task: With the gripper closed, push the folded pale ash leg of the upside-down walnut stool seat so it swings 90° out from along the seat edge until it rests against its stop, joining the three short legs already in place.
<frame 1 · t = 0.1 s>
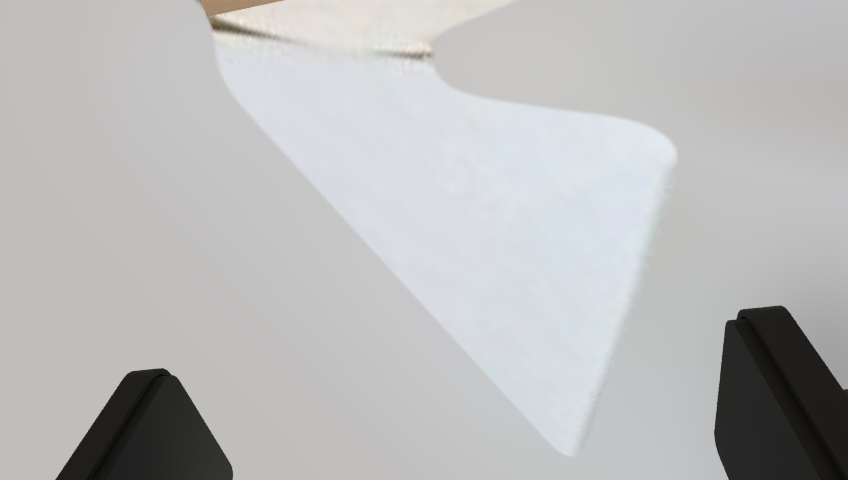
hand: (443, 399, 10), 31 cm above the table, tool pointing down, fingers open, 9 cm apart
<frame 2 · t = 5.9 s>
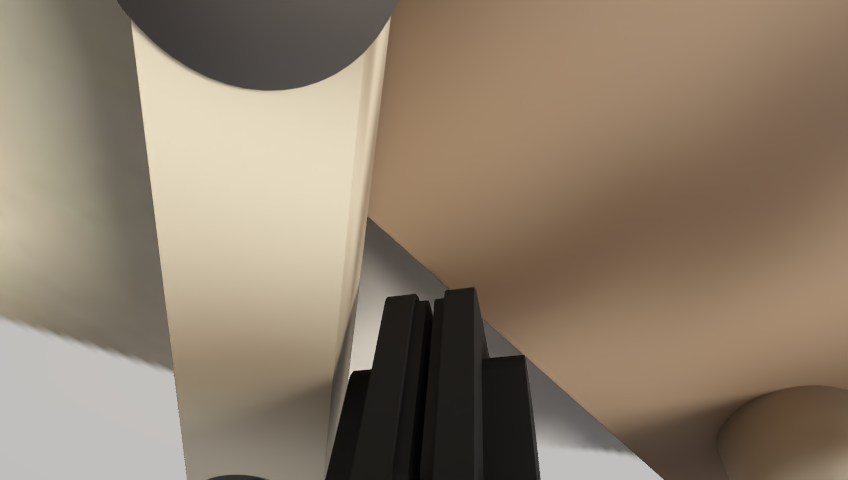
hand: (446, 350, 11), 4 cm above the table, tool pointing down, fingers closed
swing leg: (275, 263, 9), point 5 cm above the table, hinge at -52.8°, touching gripper
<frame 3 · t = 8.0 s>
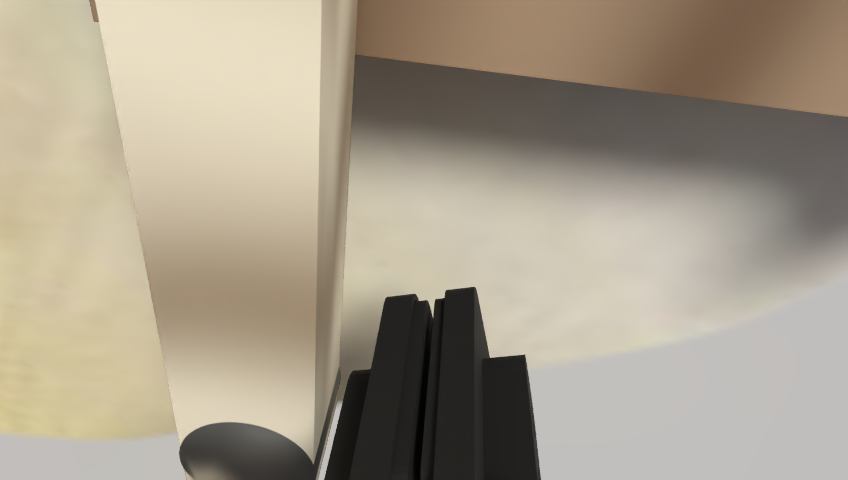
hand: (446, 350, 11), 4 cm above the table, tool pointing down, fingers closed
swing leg: (254, 197, 9), point 5 cm above the table, hinge at -90.7°
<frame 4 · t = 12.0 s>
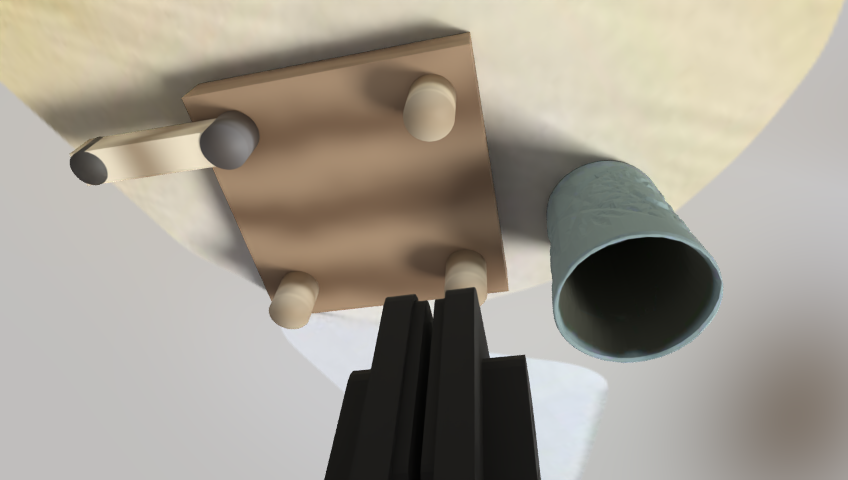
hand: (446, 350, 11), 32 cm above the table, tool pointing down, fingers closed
teal cup: (600, 204, 45), on the table
stool seat: (364, 183, 46), on the table
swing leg: (164, 150, 40), point 4 cm above the table, hinge at -90.7°
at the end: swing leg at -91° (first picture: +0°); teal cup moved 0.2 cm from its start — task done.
